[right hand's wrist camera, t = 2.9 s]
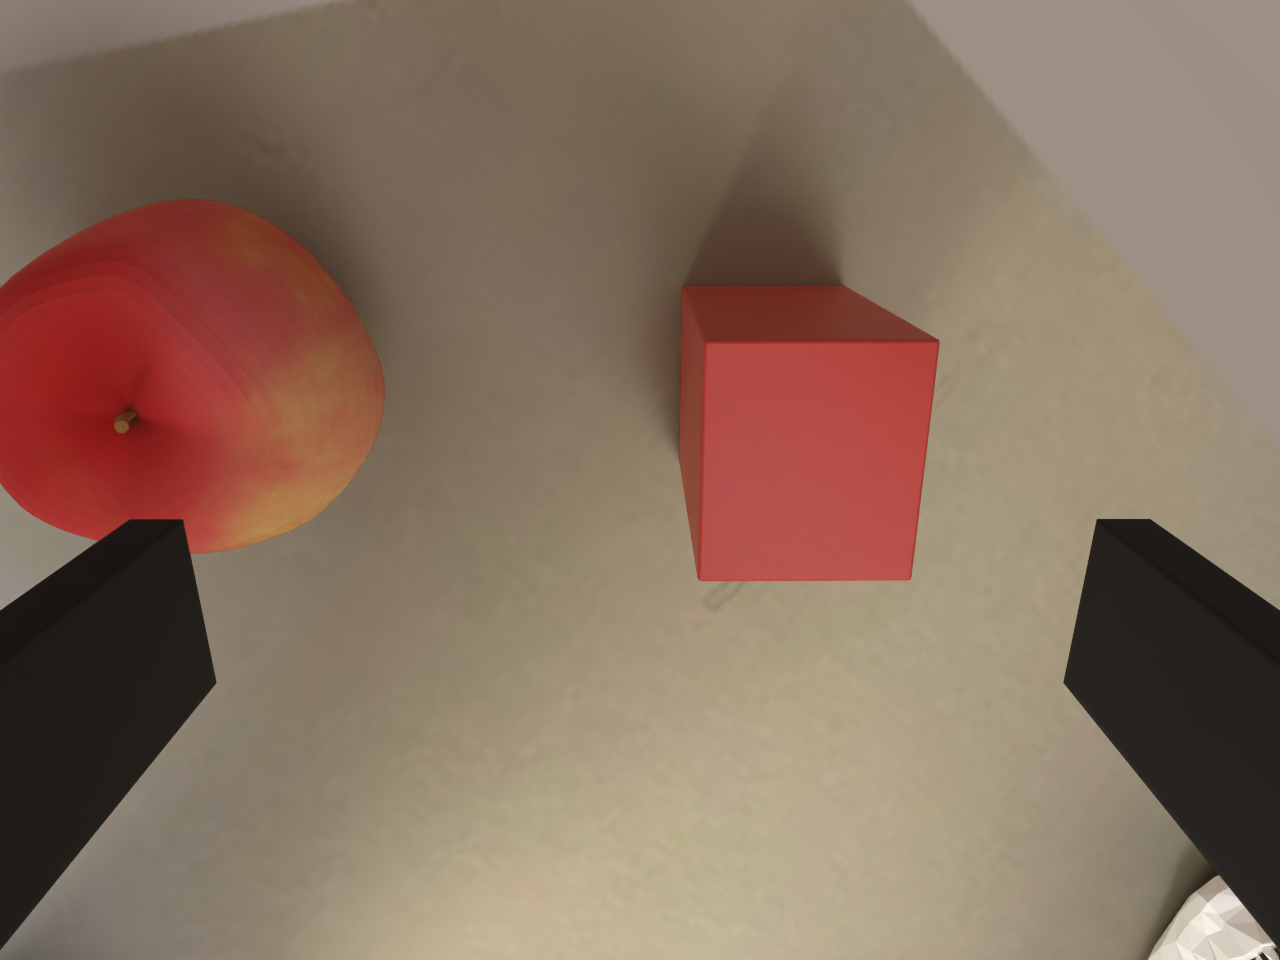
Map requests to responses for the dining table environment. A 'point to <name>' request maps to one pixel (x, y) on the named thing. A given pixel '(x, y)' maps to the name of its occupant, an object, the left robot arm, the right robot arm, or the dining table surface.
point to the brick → (802, 432)
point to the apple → (183, 378)
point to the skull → (1213, 929)
